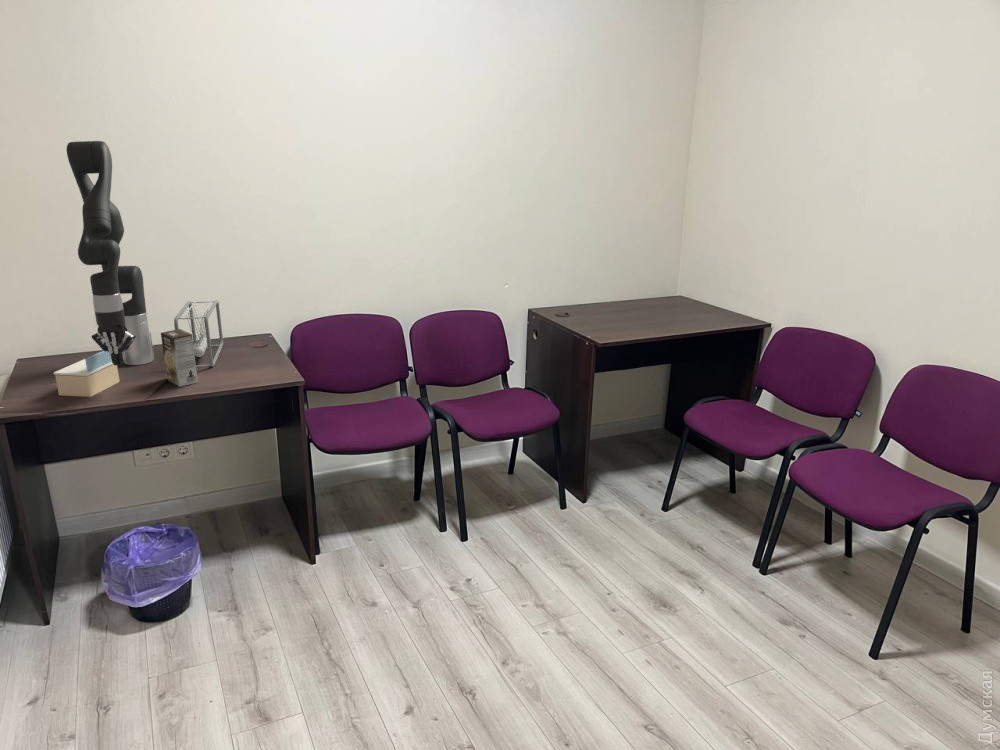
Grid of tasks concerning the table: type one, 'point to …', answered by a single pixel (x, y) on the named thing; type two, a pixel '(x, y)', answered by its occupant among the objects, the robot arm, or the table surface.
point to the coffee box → (179, 357)
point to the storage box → (87, 382)
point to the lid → (87, 365)
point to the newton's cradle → (205, 338)
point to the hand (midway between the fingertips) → (118, 364)
